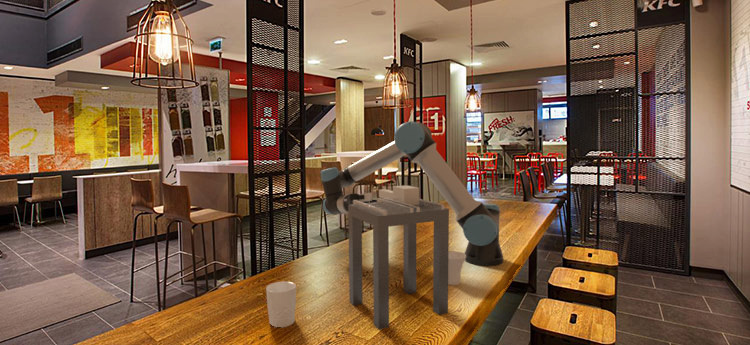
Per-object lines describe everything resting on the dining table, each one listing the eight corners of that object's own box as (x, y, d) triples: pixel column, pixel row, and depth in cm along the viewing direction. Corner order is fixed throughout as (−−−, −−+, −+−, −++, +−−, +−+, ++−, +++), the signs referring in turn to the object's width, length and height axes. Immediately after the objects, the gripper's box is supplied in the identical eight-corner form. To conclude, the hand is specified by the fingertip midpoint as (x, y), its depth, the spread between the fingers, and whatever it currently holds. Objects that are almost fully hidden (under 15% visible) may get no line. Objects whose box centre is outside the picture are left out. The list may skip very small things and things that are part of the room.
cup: (451, 289, 133) (451, 259, 132) (434, 280, 141) (434, 252, 141) (472, 284, 137) (472, 255, 136) (454, 276, 146) (455, 248, 145)
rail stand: (349, 301, 124) (348, 200, 121) (411, 289, 133) (411, 195, 130) (378, 329, 106) (378, 211, 103) (447, 313, 115) (448, 204, 112)
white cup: (289, 330, 106) (288, 293, 105) (261, 327, 107) (260, 291, 106) (301, 317, 113) (300, 282, 112) (275, 314, 115) (274, 280, 114)
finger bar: (375, 197, 135) (375, 182, 134) (388, 196, 137) (388, 181, 137) (404, 205, 118) (404, 188, 117) (418, 204, 120) (418, 187, 120)
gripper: (374, 216, 169) (410, 213, 153) (323, 209, 153) (357, 205, 137) (374, 198, 170) (410, 193, 154) (324, 189, 155) (358, 183, 139)
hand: (385, 199), depth 146 cm, fingers open, 13 cm apart
